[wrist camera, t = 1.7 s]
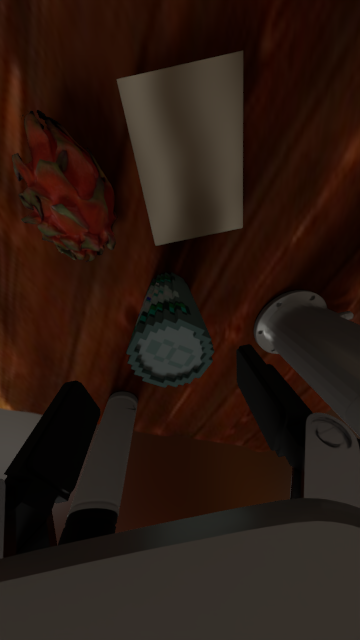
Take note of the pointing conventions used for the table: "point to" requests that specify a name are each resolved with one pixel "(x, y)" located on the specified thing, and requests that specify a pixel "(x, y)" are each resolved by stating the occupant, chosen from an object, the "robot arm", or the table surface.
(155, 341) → the can
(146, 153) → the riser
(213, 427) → the table surface
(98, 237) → the dragon fruit
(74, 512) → the travel mug
